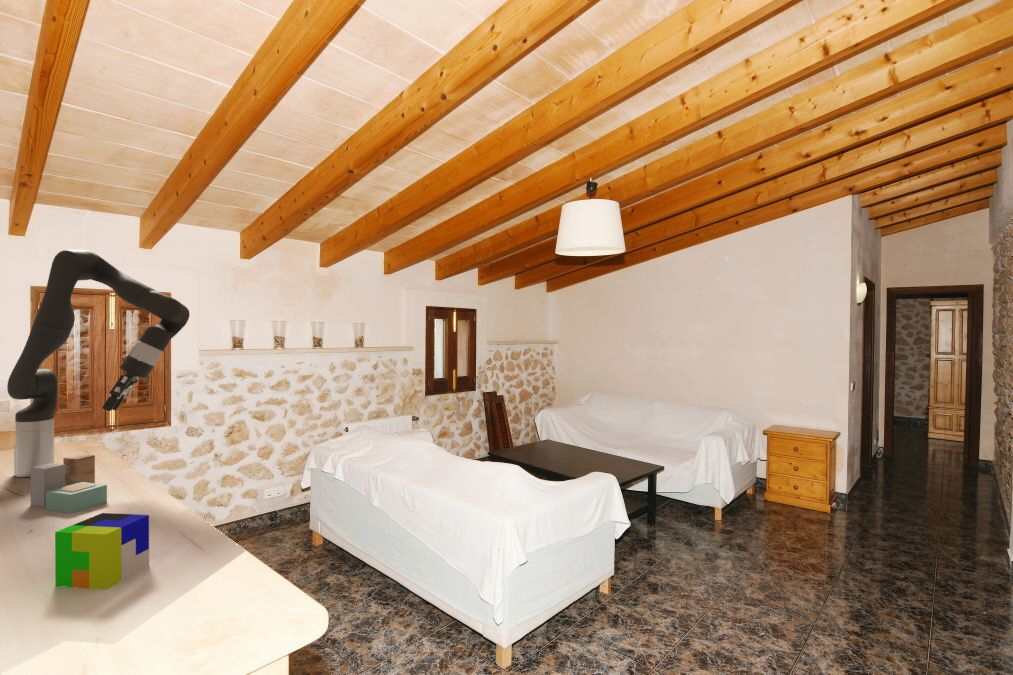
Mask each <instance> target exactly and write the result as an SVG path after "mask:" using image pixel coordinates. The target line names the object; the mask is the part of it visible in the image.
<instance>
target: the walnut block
mask: <svg viewBox="0 0 1013 675" xmlns="http://www.w3.org/2000/svg"><path fill="white" fill-rule="evenodd" d="M95 461H96V456H95V454H87V453H86V454H85V453H81V454H80V453H79V454H75V455H70V456H66V457H63V461H62V462H63V463H62V464H65V486H68V485H72V484H76V483H80V482H87V483H96V462H95Z"/></svg>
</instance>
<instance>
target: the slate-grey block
mask: <svg viewBox="0 0 1013 675" xmlns="http://www.w3.org/2000/svg"><path fill="white" fill-rule="evenodd" d="M61 487H65V464H63V463H56V462H54V463H49V464H44V465H40V466H35V467H31V477H30V506H32V507H40V508H46V491H49V490H53V489H57V488H61Z"/></svg>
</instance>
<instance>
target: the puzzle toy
mask: <svg viewBox="0 0 1013 675" xmlns="http://www.w3.org/2000/svg"><path fill="white" fill-rule="evenodd" d="M54 539H55V540H54V541H55V542H54V543H55V544H54V549H55V550H54V553H55V554H54V560H55V561H54V563H55V566H54V567H55V568H54V569H55V570H54V572H55V577H54V578H55V581H54V582H55V584H54V585H55V587H57V586H67V587H66V588H73V587H77V588H78V589H90V588H91V590H95V589H96V590H108V589H110V588H111V587H113V586H115V585H117V584H118V583H120V582H122V581H124V580H125V579H127V578H129V577H131V576H132V575H134V574H136V573H138V572H140V571H141V570H143V569H144V568H146V567H148V566H150V515H149V514H132V513H112V512H102V513H98V514H96V515H94V516H92V517H89V518H87V519H84V520H81V521H79V522H77V523H74V524H70V525H69V526H67V527H64V528H61V529H59V530H57V531H54ZM77 588H76V589H77Z"/></svg>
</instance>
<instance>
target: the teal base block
mask: <svg viewBox="0 0 1013 675" xmlns="http://www.w3.org/2000/svg"><path fill="white" fill-rule="evenodd" d="M105 502H106V503H108V484H103V483H96V482H95V483H87V482H80V483H76V484H72V485H68V486H65V487H61V488H57V489H53V490H49V491H46V507H45V510H46V511H47V510H48V511H54V512H60V513H67V514H73V513H77V512H80V511H82V510H86V509H89V508H93V507H95V506H99V505H102V503H103V504H105Z"/></svg>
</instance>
